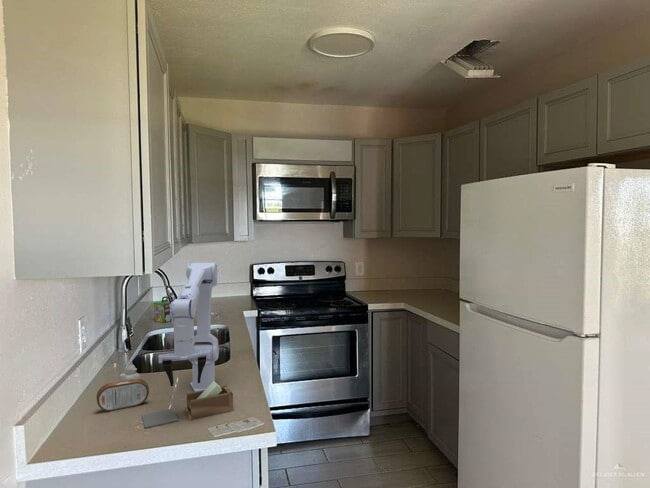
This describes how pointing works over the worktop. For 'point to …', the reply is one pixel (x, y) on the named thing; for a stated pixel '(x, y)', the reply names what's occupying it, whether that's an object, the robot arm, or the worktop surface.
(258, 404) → the worktop surface
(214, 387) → the sage bar
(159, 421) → the mat
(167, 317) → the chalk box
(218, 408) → the pocket block
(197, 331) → the robot arm
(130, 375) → the white tapered cone
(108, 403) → the tin
